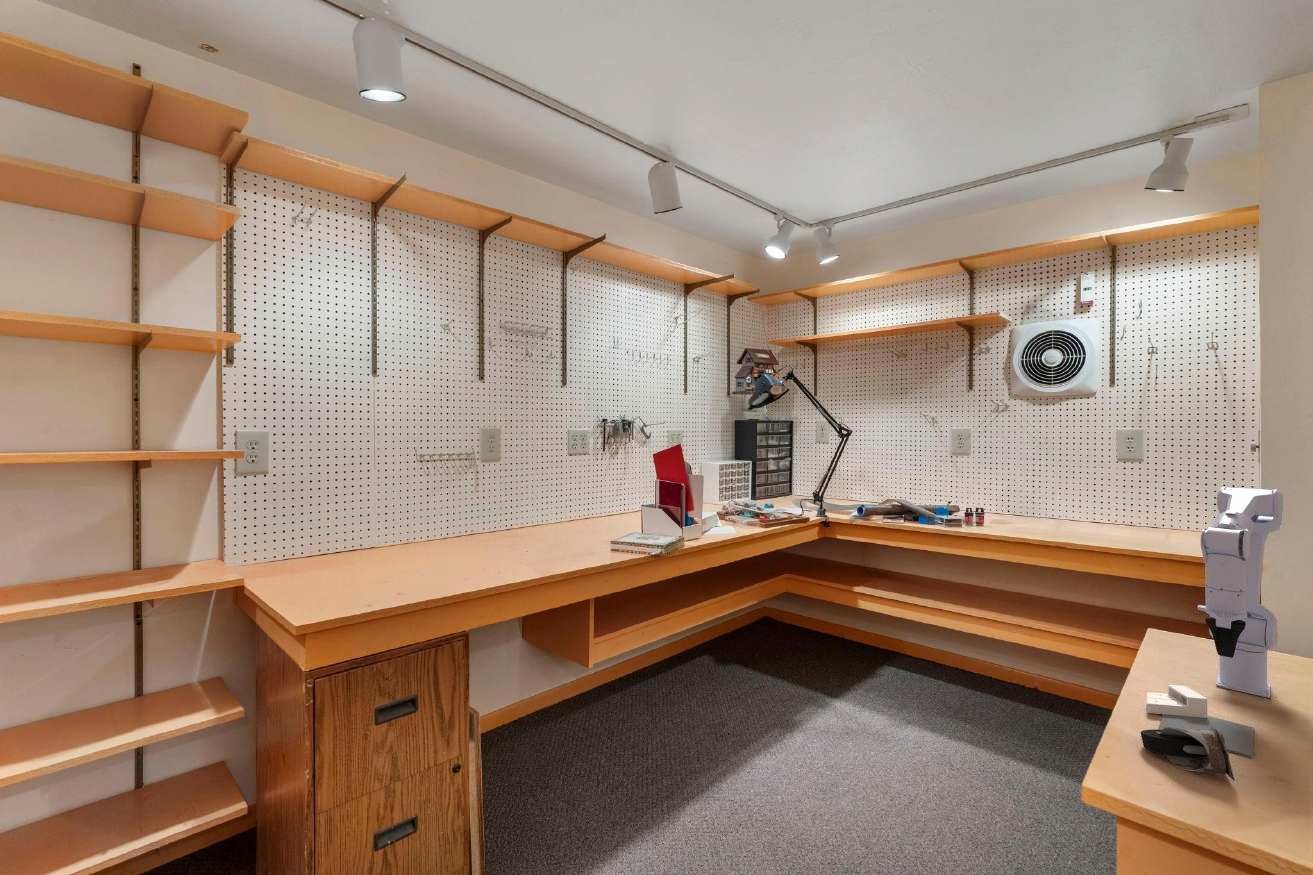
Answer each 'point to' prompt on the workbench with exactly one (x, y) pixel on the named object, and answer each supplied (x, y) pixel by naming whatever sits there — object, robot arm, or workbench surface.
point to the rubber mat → (1233, 733)
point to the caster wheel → (1191, 749)
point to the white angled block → (1177, 702)
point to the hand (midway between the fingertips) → (1225, 655)
